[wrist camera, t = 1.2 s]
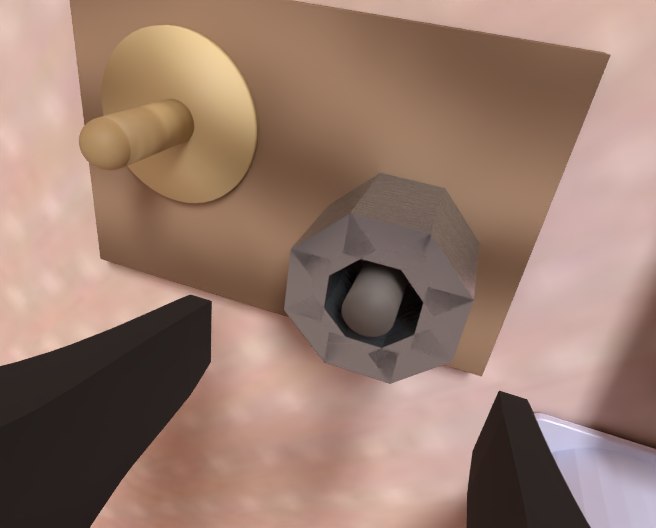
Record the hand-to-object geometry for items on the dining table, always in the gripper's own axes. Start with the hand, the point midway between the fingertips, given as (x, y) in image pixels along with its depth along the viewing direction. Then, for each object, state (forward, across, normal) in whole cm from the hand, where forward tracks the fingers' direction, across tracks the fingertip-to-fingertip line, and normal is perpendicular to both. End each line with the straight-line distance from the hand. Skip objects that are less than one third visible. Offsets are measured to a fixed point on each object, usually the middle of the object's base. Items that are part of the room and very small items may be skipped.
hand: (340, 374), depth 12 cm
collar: (+7, 0, 0) cm, 7 cm away
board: (+8, +4, -2) cm, 10 cm away
